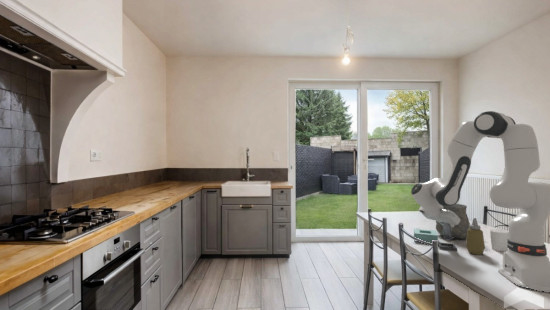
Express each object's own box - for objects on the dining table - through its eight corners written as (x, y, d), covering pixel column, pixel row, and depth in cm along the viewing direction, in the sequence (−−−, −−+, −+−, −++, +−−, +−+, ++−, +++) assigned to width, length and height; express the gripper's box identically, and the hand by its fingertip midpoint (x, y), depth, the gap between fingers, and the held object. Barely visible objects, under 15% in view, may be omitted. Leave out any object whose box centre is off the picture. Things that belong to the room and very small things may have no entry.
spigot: (452, 240, 150) (451, 214, 150) (444, 239, 152) (443, 213, 152) (451, 238, 154) (450, 213, 154) (443, 237, 155) (442, 212, 156)
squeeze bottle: (468, 254, 142) (468, 219, 142) (463, 249, 150) (463, 216, 150) (487, 256, 139) (487, 220, 140) (481, 251, 147) (481, 217, 147)
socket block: (437, 244, 159) (437, 235, 160) (414, 241, 165) (414, 233, 165) (435, 238, 170) (435, 230, 170) (413, 236, 175) (413, 228, 176)
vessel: (427, 236, 175) (427, 204, 175) (439, 230, 190) (439, 201, 190) (468, 244, 159) (468, 209, 159) (478, 237, 174) (477, 204, 174)
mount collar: (457, 251, 148) (457, 248, 148) (439, 249, 151) (439, 246, 151) (454, 246, 155) (454, 243, 155) (438, 244, 159) (438, 242, 159)
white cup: (512, 252, 145) (512, 233, 145) (495, 251, 147) (495, 232, 147) (503, 247, 153) (503, 229, 153) (487, 246, 155) (487, 228, 155)
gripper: (453, 206, 141) (469, 224, 144) (422, 201, 161) (436, 217, 163) (447, 215, 140) (462, 234, 142) (416, 209, 160) (430, 225, 162)
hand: (448, 225), depth 153 cm, fingers closed on spigot, 4 cm apart
